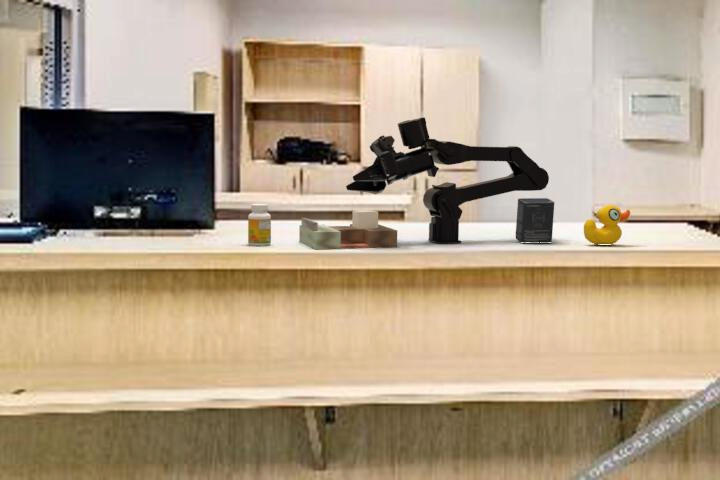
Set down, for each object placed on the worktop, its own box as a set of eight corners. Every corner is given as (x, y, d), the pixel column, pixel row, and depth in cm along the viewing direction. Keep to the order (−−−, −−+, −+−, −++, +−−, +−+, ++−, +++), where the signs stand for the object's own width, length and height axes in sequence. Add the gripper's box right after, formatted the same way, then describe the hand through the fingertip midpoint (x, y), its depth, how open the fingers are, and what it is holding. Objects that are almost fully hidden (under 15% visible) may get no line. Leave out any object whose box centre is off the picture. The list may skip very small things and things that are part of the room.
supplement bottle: (244, 244, 225) (244, 203, 224) (265, 243, 228) (265, 203, 226) (253, 246, 220) (253, 205, 219) (274, 245, 223) (274, 204, 222)
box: (544, 238, 238) (547, 197, 236) (551, 243, 233) (555, 202, 231) (514, 238, 237) (517, 197, 235) (521, 244, 232) (524, 202, 229)
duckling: (624, 244, 234) (626, 204, 233) (632, 246, 229) (634, 206, 228) (580, 244, 233) (581, 204, 232) (587, 246, 228) (588, 205, 227)
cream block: (371, 226, 231) (372, 210, 231) (378, 228, 226) (378, 211, 226) (352, 226, 230) (352, 210, 229) (358, 228, 225) (358, 212, 224)
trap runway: (376, 239, 238) (376, 215, 237) (397, 247, 223) (397, 222, 222) (299, 241, 232) (299, 217, 231) (315, 249, 217) (315, 223, 216)
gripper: (389, 144, 238) (332, 162, 235) (406, 122, 220) (344, 141, 217) (404, 185, 237) (347, 204, 234) (422, 166, 219) (361, 186, 216)
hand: (349, 183), depth 225 cm, fingers open, 9 cm apart
